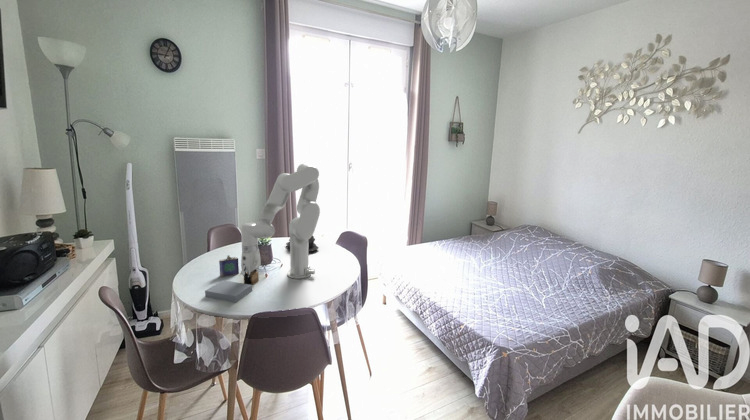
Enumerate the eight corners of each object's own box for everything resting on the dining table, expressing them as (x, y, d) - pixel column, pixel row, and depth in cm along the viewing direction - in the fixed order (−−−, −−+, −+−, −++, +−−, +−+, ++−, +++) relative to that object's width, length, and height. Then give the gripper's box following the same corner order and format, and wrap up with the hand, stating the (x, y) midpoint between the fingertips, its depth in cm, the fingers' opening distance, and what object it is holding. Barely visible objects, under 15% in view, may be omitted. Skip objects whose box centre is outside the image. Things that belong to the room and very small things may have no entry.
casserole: (325, 250, 216) (325, 238, 214) (302, 256, 202) (302, 243, 200) (301, 241, 231) (301, 230, 230) (279, 247, 217) (279, 235, 216)
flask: (220, 277, 167) (219, 257, 165) (219, 275, 170) (218, 255, 168) (239, 274, 172) (238, 255, 170) (238, 272, 174) (237, 253, 172)
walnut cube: (258, 281, 165) (258, 271, 164) (252, 285, 160) (252, 275, 159) (250, 279, 166) (249, 270, 165) (243, 283, 162) (243, 274, 160)
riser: (252, 290, 154) (252, 284, 154) (235, 302, 143) (235, 296, 142) (223, 285, 158) (223, 280, 157) (205, 296, 147) (205, 290, 146)
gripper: (245, 254, 150) (247, 290, 154) (266, 243, 167) (267, 276, 170) (232, 252, 152) (233, 287, 156) (253, 241, 168) (254, 274, 172)
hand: (251, 281), depth 163 cm, fingers closed on walnut cube, 5 cm apart
